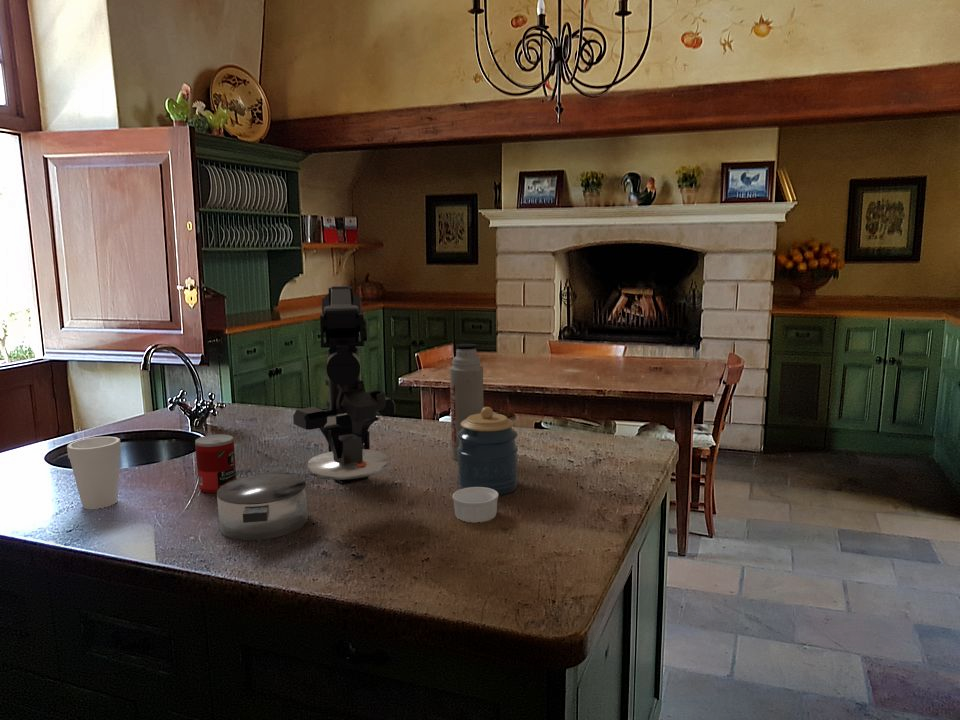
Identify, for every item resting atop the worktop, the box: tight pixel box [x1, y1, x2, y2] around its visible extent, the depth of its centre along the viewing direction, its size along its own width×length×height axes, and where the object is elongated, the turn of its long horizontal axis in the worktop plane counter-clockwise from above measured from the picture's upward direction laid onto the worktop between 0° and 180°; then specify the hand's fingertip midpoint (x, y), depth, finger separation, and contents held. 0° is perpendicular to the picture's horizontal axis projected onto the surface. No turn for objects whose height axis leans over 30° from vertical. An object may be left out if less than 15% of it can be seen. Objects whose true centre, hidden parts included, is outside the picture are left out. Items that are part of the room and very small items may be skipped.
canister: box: [457, 406, 519, 496], centre depth 151 cm, size 13×13×18 cm
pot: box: [216, 471, 309, 541], centre depth 134 cm, size 23×16×7 cm
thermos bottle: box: [449, 343, 485, 462], centre depth 172 cm, size 8×8×28 cm
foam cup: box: [66, 435, 122, 510], centre depth 145 cm, size 10×9×13 cm
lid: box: [307, 434, 389, 481], centre depth 134 cm, size 15×15×6 cm
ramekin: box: [452, 487, 500, 524], centre depth 137 cm, size 9×9×4 cm
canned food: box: [194, 433, 237, 494], centre depth 154 cm, size 8×8×11 cm
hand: (347, 455), depth 134 cm, fingers closed on lid, 4 cm apart
